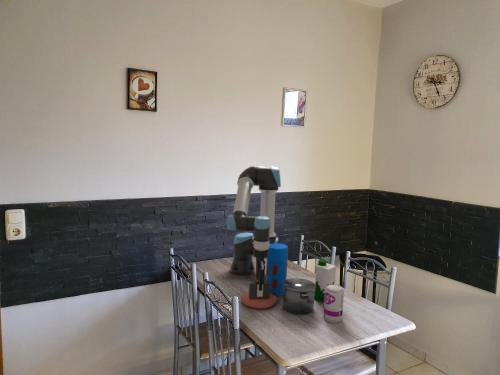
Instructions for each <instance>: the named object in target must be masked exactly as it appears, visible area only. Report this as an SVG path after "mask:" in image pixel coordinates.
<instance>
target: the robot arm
mask: <svg viewBox="0 0 500 375" xmlns="http://www.w3.org/2000/svg"><path fill="white" fill-rule="evenodd" d="M236 183H237V184H236V185H237V191H236V196H235V201H234V206H233V211H232V214H229V215H228V216H227V219H226V227H227V230H231V231H244V232H242V233H241V232H240V233H238V234H236V235H235V236H234V239H233V258H232V261H231V264H230V268H229V271H230V273H232V274H233V275H237V276H250V275H252V274H254V273H255V281H258V283H257V297H261V296H263V284H264V281H265V278H266V261H265V259H267V257H268V256H269V250H268V248H269V244H274V243H278V244H279V237H277V233H276V232H275V231H274V230H275V212H276V211H275V210H276V193H277V192H278V190H279V188H281V187H282V184H281V170H280V168H279V167H277V166H264V165H263V166H260V165H259V166H258V165H257V166H256V165H252V166H249V167H247V168H245V169H244V170H243V171H241V173H240V174H239V176H238V179H237V182H236ZM254 186H256V187H258V190H259V192H260V212H259V216H253V215H252V216H251V215H250V216H249V215H248V213H249V206H250V200H251V194H252V193H251V192H252V189H253V188H254ZM245 231H246V232H245ZM253 257H254V258H255V264H254V260H253V259H254V258H253Z"/></svg>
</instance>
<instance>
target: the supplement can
mask: <svg viewBox="0 0 500 375" xmlns="http://www.w3.org/2000/svg"><path fill="white" fill-rule="evenodd" d="M344 295H345V291H344V289H343V286H341V285H338V284H334V285H328V286H327V287H326V289H325V301H324V303H323V319H325V321H327V322H329V323H333V324H336V323H340V322H341V321H343V312H344V311H343V310H344V297H345V296H344Z"/></svg>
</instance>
